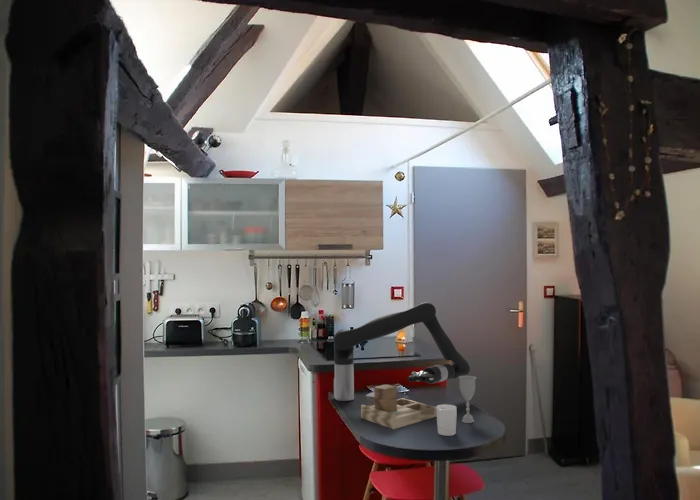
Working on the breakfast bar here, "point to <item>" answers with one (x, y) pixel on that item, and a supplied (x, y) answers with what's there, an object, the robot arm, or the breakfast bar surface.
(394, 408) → the walnut block
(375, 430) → the breakfast bar surface
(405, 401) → the box
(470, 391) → the chalice
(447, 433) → the white cup
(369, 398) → the decorative stone
